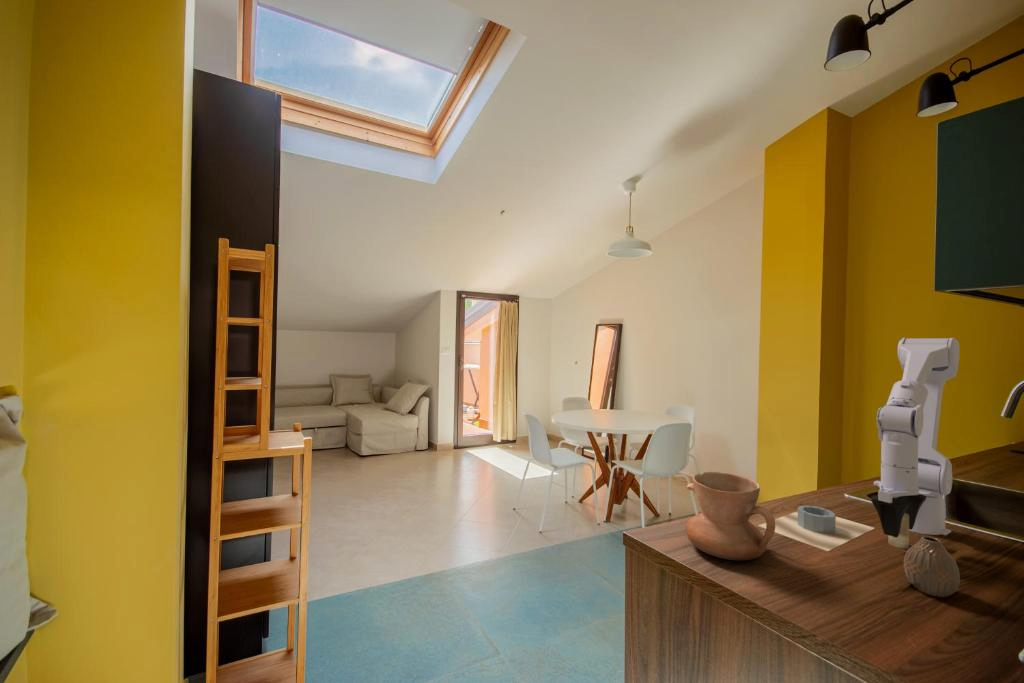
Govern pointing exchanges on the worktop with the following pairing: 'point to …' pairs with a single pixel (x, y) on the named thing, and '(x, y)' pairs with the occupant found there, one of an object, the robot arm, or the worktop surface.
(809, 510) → the grey faceted ring
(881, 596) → the worktop surface
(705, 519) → the ceramic jug
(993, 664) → the worktop surface
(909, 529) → the robot arm
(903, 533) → the wick peg
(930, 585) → the vase
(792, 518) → the board
